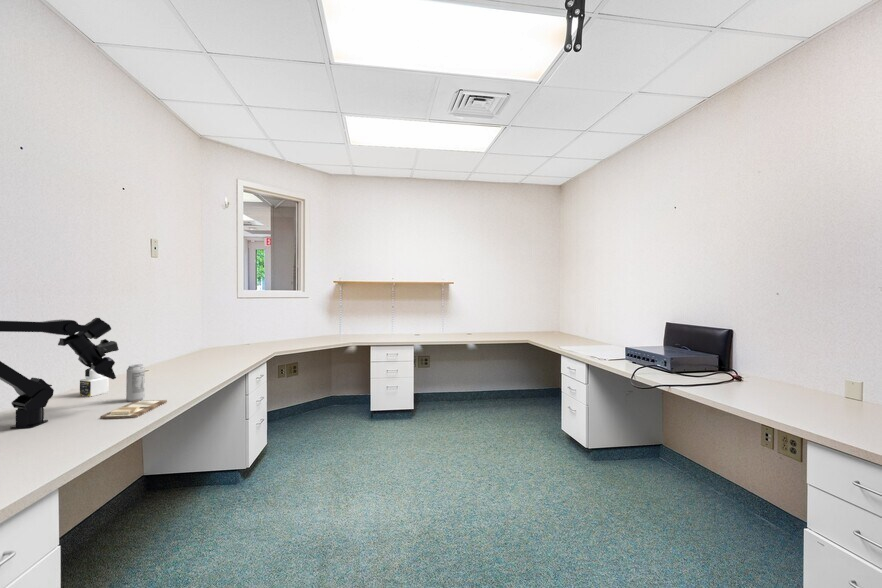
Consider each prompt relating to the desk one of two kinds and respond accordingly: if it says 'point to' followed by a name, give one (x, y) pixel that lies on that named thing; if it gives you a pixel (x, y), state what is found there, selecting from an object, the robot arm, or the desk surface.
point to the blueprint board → (134, 409)
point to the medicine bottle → (93, 384)
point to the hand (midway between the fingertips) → (110, 375)
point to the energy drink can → (135, 383)
